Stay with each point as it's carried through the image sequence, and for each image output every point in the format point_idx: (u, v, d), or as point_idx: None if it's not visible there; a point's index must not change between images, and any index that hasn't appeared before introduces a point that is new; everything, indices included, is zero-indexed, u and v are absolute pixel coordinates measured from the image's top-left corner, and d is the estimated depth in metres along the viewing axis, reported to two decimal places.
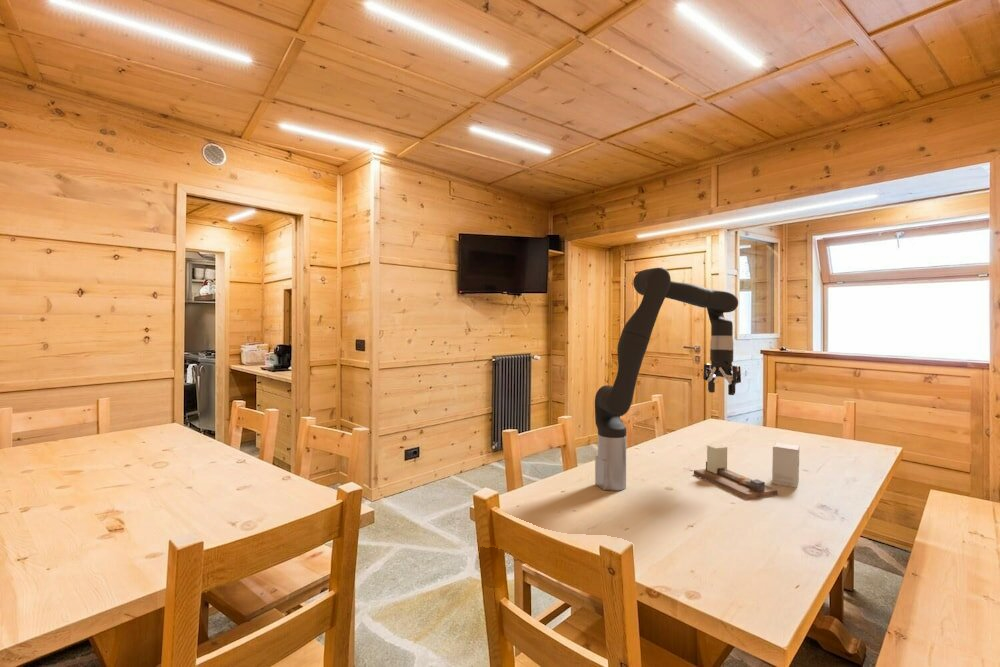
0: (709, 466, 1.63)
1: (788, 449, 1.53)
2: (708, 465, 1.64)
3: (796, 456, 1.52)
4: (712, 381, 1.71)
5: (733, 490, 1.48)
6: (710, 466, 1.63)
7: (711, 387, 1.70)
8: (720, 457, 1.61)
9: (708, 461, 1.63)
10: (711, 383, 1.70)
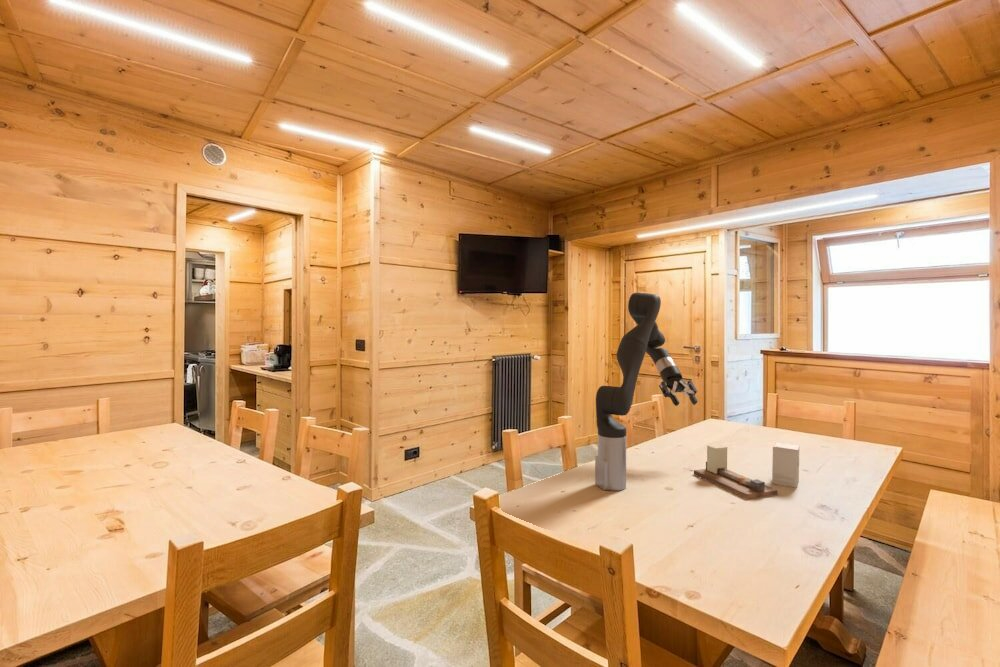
0: (709, 466, 1.63)
1: (788, 449, 1.53)
2: (708, 465, 1.64)
3: (796, 456, 1.52)
4: None
5: (733, 490, 1.48)
6: (710, 466, 1.63)
7: None
8: (720, 457, 1.61)
9: (708, 461, 1.63)
10: None
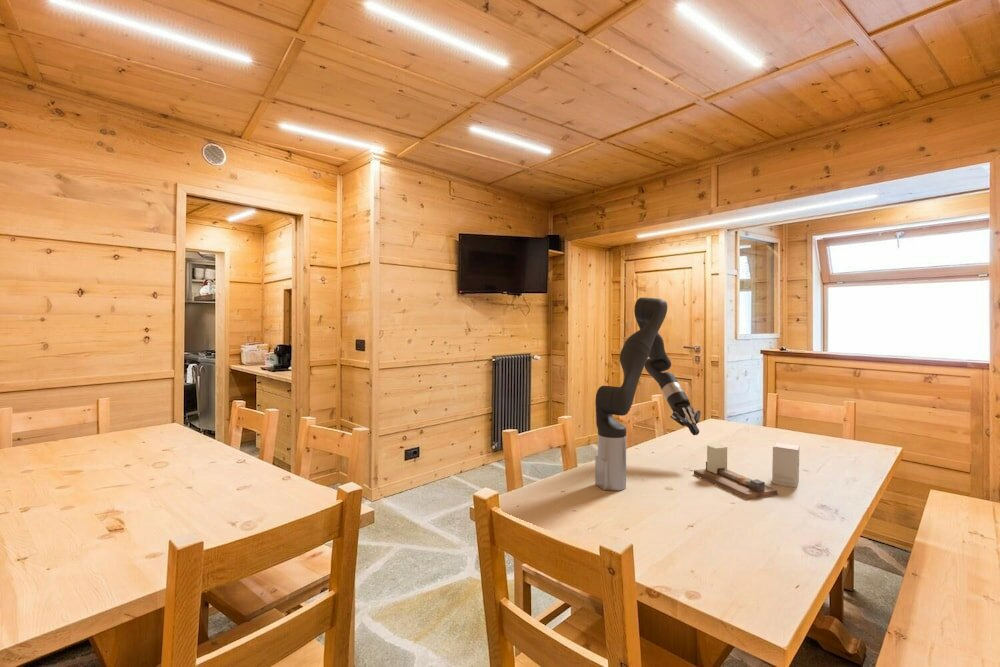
0: (709, 466, 1.63)
1: (788, 449, 1.53)
2: (708, 465, 1.64)
3: (796, 456, 1.52)
4: None
5: (733, 490, 1.48)
6: (710, 466, 1.63)
7: None
8: (720, 457, 1.61)
9: (708, 461, 1.63)
10: None
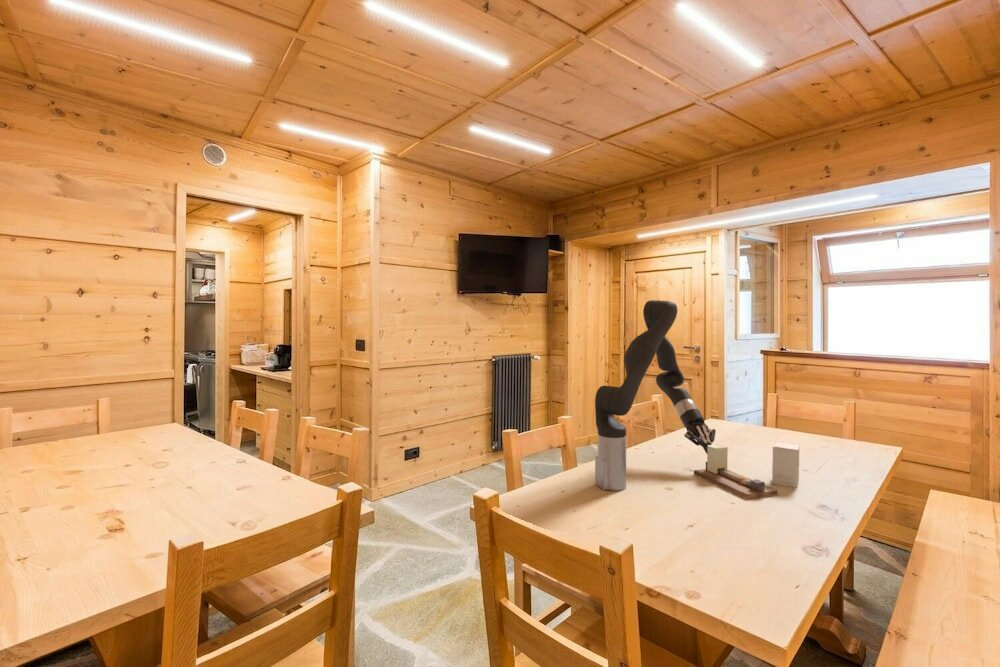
0: (709, 466, 1.63)
1: (788, 449, 1.53)
2: (708, 465, 1.63)
3: (796, 456, 1.52)
4: None
5: (733, 490, 1.48)
6: (710, 466, 1.62)
7: None
8: (721, 457, 1.61)
9: (708, 461, 1.63)
10: None
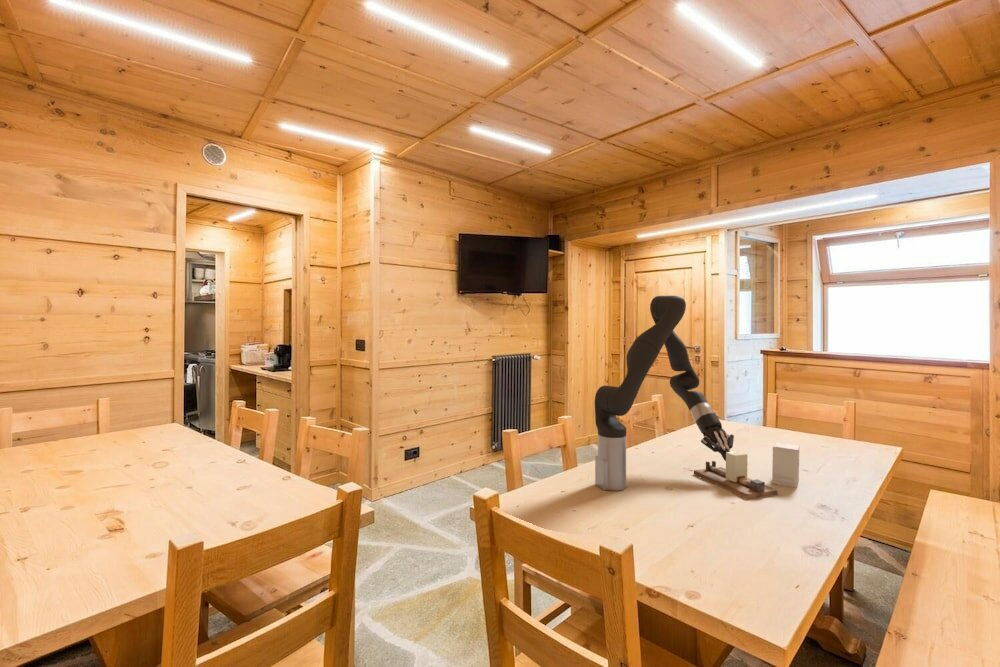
0: (728, 474, 1.55)
1: (788, 449, 1.53)
2: (727, 473, 1.55)
3: (796, 456, 1.52)
4: None
5: (733, 490, 1.48)
6: (729, 474, 1.54)
7: None
8: (740, 465, 1.52)
9: (727, 468, 1.55)
10: None
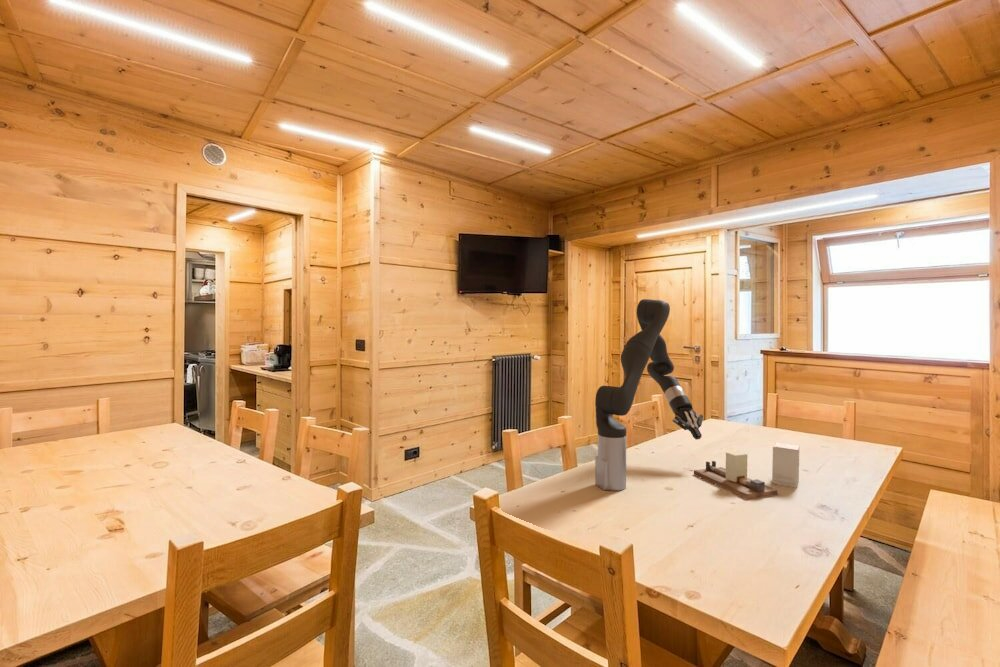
0: (728, 474, 1.55)
1: (788, 449, 1.53)
2: (727, 473, 1.55)
3: (796, 456, 1.52)
4: None
5: (733, 490, 1.48)
6: (729, 474, 1.54)
7: None
8: (740, 465, 1.52)
9: (727, 468, 1.55)
10: None
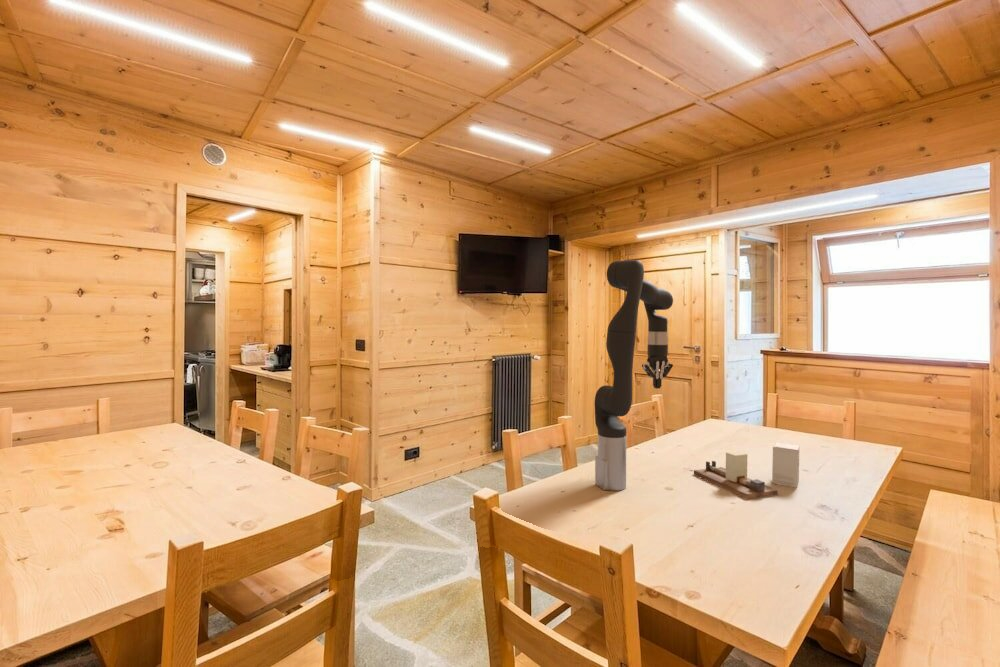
0: (728, 474, 1.55)
1: (788, 449, 1.53)
2: (727, 473, 1.55)
3: (796, 456, 1.52)
4: None
5: (733, 490, 1.48)
6: (729, 474, 1.54)
7: None
8: (740, 465, 1.52)
9: (727, 468, 1.55)
10: None
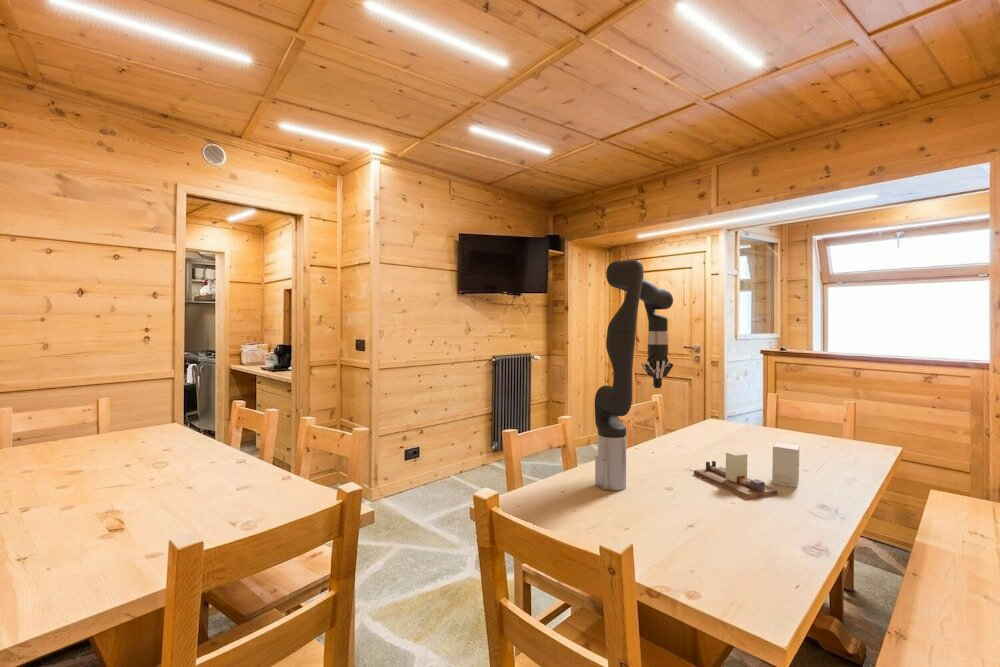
0: (728, 474, 1.55)
1: (788, 449, 1.53)
2: (727, 473, 1.55)
3: (796, 456, 1.52)
4: None
5: (733, 490, 1.48)
6: (729, 474, 1.54)
7: None
8: (740, 465, 1.52)
9: (727, 468, 1.55)
10: None
